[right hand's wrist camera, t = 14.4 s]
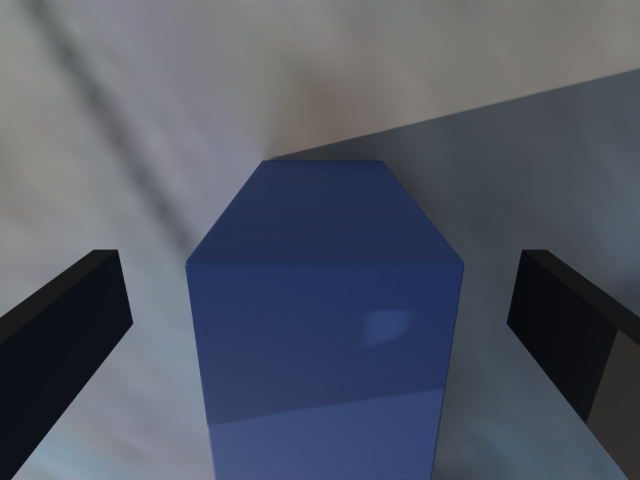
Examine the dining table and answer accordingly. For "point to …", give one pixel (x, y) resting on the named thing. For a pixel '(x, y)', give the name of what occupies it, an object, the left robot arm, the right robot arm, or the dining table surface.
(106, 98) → the dining table surface
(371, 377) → the bar
